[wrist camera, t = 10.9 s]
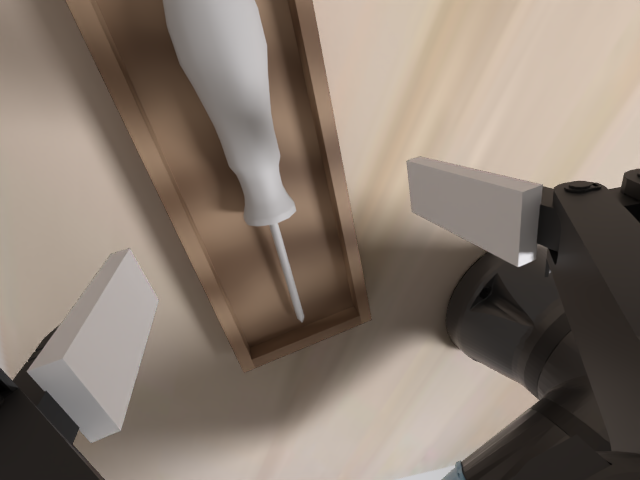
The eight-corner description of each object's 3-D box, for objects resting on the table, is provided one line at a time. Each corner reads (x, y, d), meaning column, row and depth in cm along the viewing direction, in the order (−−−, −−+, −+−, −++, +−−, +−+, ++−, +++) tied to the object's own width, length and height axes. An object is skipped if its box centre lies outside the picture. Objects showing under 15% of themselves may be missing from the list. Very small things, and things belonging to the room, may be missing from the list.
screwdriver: (275, 311, 29) (274, 347, 25) (155, -41, 17) (119, -70, 13) (326, 300, 29) (332, 335, 25) (244, -60, 17) (233, -95, 13)
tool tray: (360, 304, 31) (371, 319, 29) (241, 352, 29) (243, 372, 27) (275, -117, 17) (284, -148, 15) (36, -88, 15) (8, -119, 13)
